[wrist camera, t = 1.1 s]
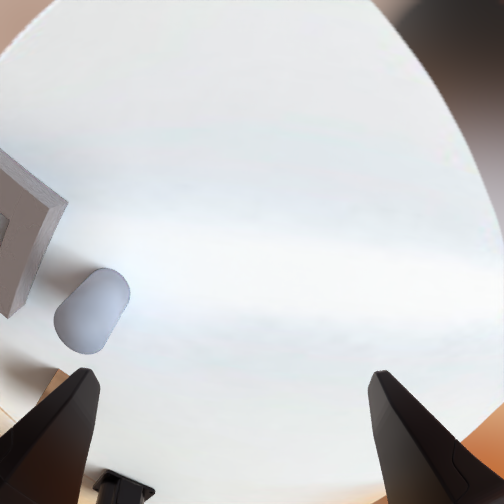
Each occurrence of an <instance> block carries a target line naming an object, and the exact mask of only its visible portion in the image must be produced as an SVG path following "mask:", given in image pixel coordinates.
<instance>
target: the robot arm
mask: <svg viewBox="0 0 504 504" xmlns="http://www.w3.org/2000/svg"><path fill="white" fill-rule="evenodd" d="M99 394H100V384H99V382H98V380H97V378H96V376H95V374H94V373H93V371H92V370H91V369H89V368H79V369H78V370H76V371H75V372H74V373H73V374H72V375H71V376H69V377H68V378H67V379H66V380H65V381H64V382H63V383H61V384H60V385H59V386H58V387H57V388H56V389H55V390H53V391H52V392H51V393H50V394H49V395H48V396H47V397H45V398H44V399H43V400H42V401H41V402H40V403H39V404H37V405H36V406H35V407H34V408H33V409H32V410H31V411H30V412H28V413H27V414H26V415H25V416H24V417H23V418H22V419H21V420H19V421H18V422H17V423H16V424H15V425H14V426H13V428H10V429H9V430H8V431H7V432H6V433H5V434H4V435H2V436H1V437H0V504H77V503H78V498H79V493H80V488H81V483H82V478H83V473H84V469H85V464H86V460H87V456H88V451H89V447H90V443H91V439H92V435H93V431H94V426H95V420H96V413H97V407H98V400H99ZM368 398H369V406H370V413H371V421H372V429H373V436H374V440H375V444H376V449H377V453H378V457H379V462H380V466H381V471H382V475H383V480H384V484H385V489H386V494H387V498H388V504H504V479H502V478H501V477H500V476H498V475H497V474H496V473H495V472H493V471H492V470H491V469H490V468H488V467H487V466H486V465H484V464H483V463H482V462H481V461H480V460H478V459H477V458H476V457H475V456H474V455H473V454H471V453H470V452H469V451H468V450H467V449H466V448H465V447H464V446H463V445H462V444H461V443H460V442H459V441H458V440H457V439H456V440H455V437H454V436H453V435H452V434H451V433H450V432H449V431H448V430H447V429H446V428H445V427H444V426H443V425H442V424H441V423H440V422H439V421H438V420H437V419H436V418H435V417H434V416H433V415H432V414H431V413H430V412H429V411H428V410H427V409H426V408H425V407H424V406H423V405H422V404H421V403H420V402H419V401H418V400H417V399H416V398H415V397H414V396H413V395H412V394H411V393H410V392H409V391H408V390H407V389H406V388H405V387H404V386H403V385H402V384H401V383H400V382H399V381H398V380H397V379H396V378H395V377H394V376H393V375H392V374H391V373H390V372H388V371H387V370H382V371H376V372H374V374H373V376H372V379H371V381H370V384H369V386H368ZM93 489H94V490H95V491H97V492H99V493H98V497H97V501H96V504H144V502H145V501H146V500H148V499H149V498H150V497H151V496H153V495H154V494H155V490H154V489H152V488H149V487H147V486H144V485H142V484H139V483H137V482H134V481H132V480H130V479H127V478H125V477H123V476H121V475H118V474H116V473H114V472H112V471H109V470H107V471H106V472H105V473H104V474H103V475H102V476H101V477H100V479H99V480H98V481H97V482H96V483H95V484H94V486H93Z"/></svg>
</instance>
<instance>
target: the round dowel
mask: <svg viewBox="0 0 504 504" xmlns="http://www.w3.org/2000/svg"><path fill="white" fill-rule="evenodd" d="M129 300H130V288H129V285H128V283H127V281H126V280H125V278H124V277H123V276H122V275H121V274H120V273H118V272H117V271H115V270H112V269H108V268H101V269H98V270H96V271H94V272H93V273H92V274H91V275H90V276H89V277H88V278H87V279H86V280H85V281H84V282H83V283H82V284H81V285H80V286H79V287H78V288H77V289H76V290H75V291H74V292H73V293H72V294H71V295H70V296H69V297H68V298H67V299H66V300H65V301H64V302H63V303H62V304H61V305H60V306H59V307H58V308H57V310H56V311H55V314H54V326H55V330H56V332H57V334H58V336H59V338H60V339H61V341H62V342H63V343H64V344H65V345H66V346H67V347H69V348H70V349H72V350H73V351H75V352H78V353H81V354H94V353H97V352H99V351H100V350H101V349H102V348H103V347H104V345H105V343H106V342H107V340H108V338H109V336H110V334H111V333H112V331H113V329H114V327H115V325H116V324H117V322H118V320H119V318H120V317H121V315H122V313H123V311H124V310H125V308H126V306H127V304H128V302H129Z"/></svg>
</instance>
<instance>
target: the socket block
mask: <svg viewBox="0 0 504 504" xmlns="http://www.w3.org/2000/svg"><path fill="white" fill-rule="evenodd" d="M67 205H68V202H67V201H66V200H64V199H63V198H62V197H60V196H59V195H58V194H57V193H55V192H54V191H53V190H51V189H50V188H49V187H47V186H46V185H45V184H44V183H42V182H41V181H40V180H38V179H37V178H36V177H35V176H33V175H32V174H31V173H30V172H28V171H27V170H26V169H25V168H23V167H22V166H21V165H20V164H18V163H17V162H16V161H15V160H13V159H12V158H11V157H10V156H9V155H7V154H6V153H5V152H4V151H3V150H1V149H0V212H1V213H2V214H3V215H4V216H5V217H6V218H8V219H9V220H10V222H9V224H8V227H7V230H6V233H5V235H4V238H3V241H2V244H1V247H0V313H1V314H3V315H4V316H5V317H6V318H7V319H8V318H10V317H11V316H12V315H13V314H14V313H15V312H16V311H17V310H19V309H20V308H21V307H22V306H23V305H24V304H25V303H26V300H27V297H28V294H29V291H30V289H31V286H32V283H33V281H34V278H35V275H36V273H37V270H38V268H39V265H40V263H41V261H42V258H43V256H44V253H45V251H46V249H47V247H48V244H49V242H50V240H51V238H52V235H53V233H54V231H55V229H56V227H57V225H58V223H59V221H60V219H61V216H62V214H63V212H64V210H65V208H66V206H67Z"/></svg>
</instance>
